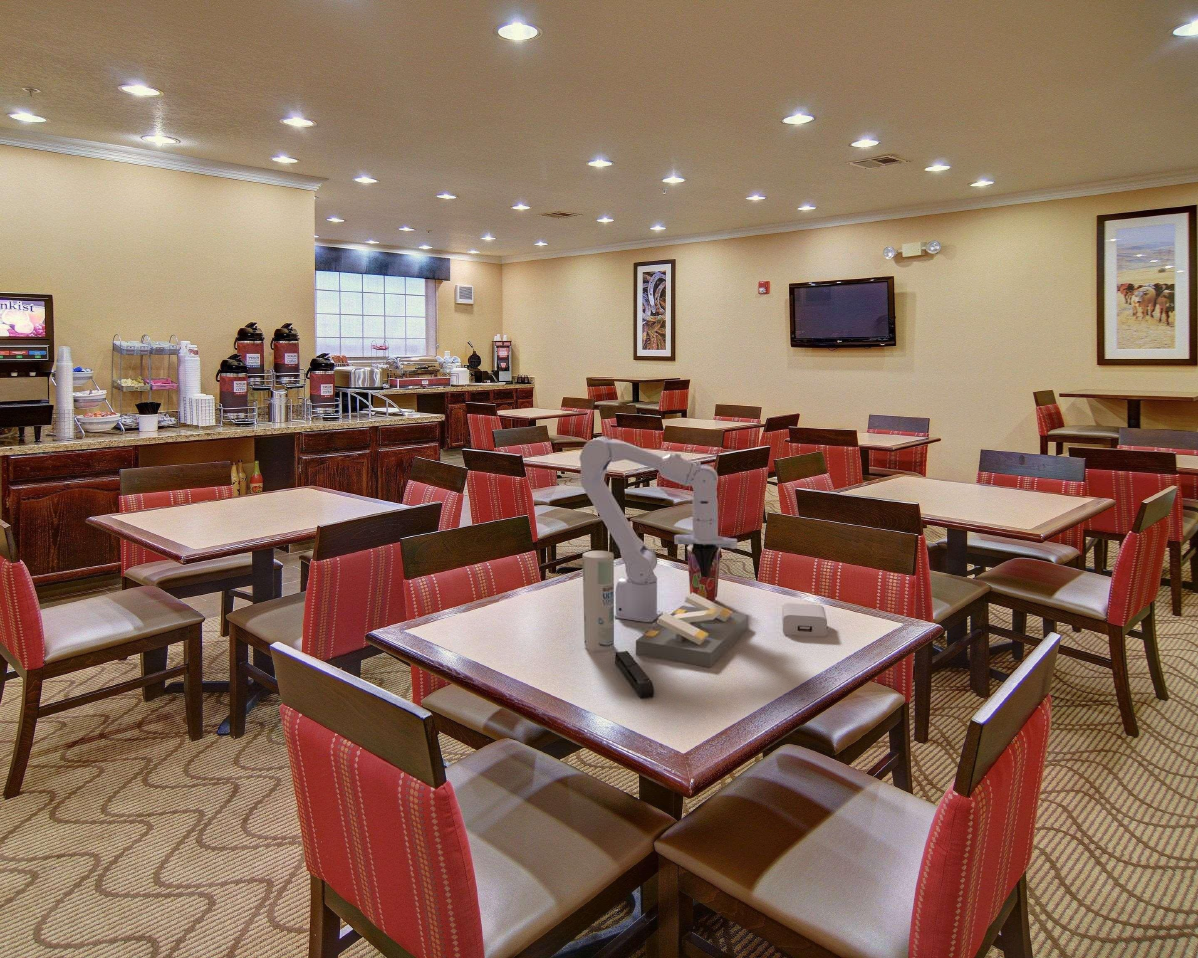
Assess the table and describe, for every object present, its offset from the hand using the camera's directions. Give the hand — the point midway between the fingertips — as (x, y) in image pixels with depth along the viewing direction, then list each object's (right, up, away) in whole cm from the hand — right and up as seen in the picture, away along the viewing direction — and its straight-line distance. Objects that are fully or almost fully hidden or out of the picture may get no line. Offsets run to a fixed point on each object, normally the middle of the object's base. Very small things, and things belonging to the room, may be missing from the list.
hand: (705, 576), depth 175 cm
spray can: (-25, -13, -15) cm, 32 cm away
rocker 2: (-4, -8, -13) cm, 15 cm away
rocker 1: (-8, -9, -20) cm, 23 cm away
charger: (+22, -11, -3) cm, 25 cm away
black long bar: (-18, -16, -32) cm, 40 cm away
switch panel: (-4, -12, -12) cm, 18 cm away
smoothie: (+2, -8, +16) cm, 18 cm away
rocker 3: (0, -7, -6) cm, 9 cm away
